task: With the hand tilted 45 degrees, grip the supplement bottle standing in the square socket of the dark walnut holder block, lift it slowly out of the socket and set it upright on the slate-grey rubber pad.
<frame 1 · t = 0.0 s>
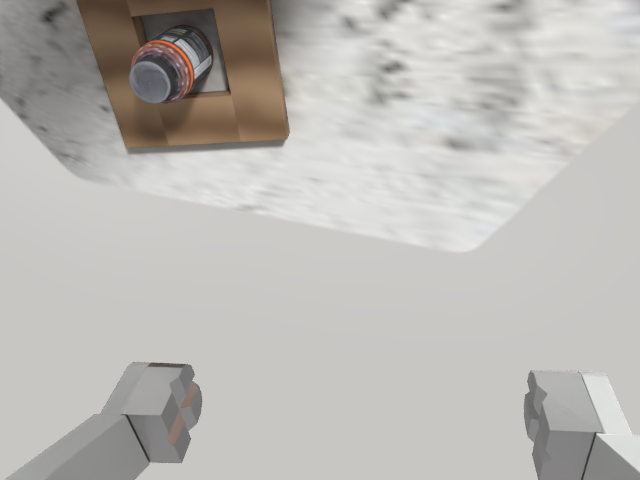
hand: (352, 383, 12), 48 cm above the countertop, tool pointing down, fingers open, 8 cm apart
supplement bottle: (189, 52, 57), resting in holder block
holder block: (189, 52, 57), on the countertop
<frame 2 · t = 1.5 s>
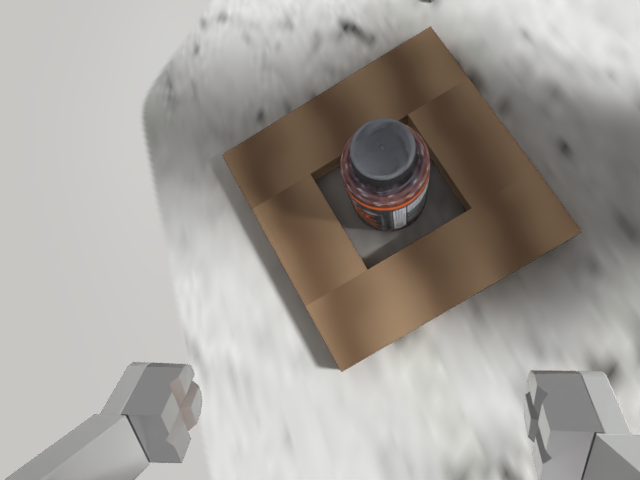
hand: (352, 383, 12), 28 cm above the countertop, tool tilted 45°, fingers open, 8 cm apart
supplement bottle: (389, 198, 42), resting in holder block
holder block: (389, 197, 41), on the countertop
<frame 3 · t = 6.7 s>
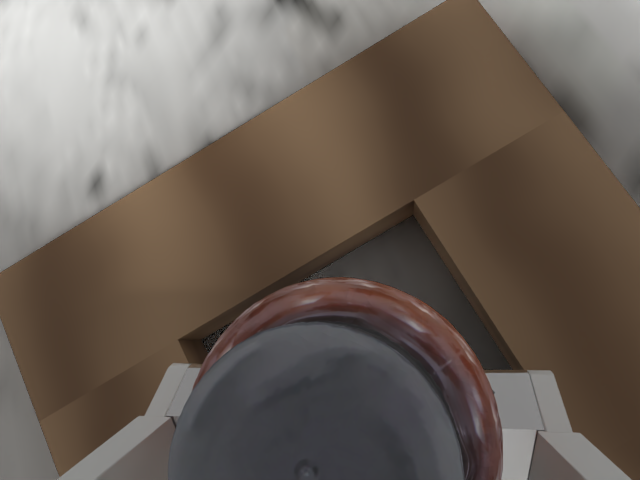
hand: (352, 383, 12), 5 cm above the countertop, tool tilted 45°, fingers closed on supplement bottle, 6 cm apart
supplement bottle: (369, 390, 18), resting in holder block, touching gripper
holder block: (368, 390, 17), on the countertop
when the fingers open (7 cm above the countertop, at t = 17.0 s): supplement bottle stays where it is, resting on rubber pad.
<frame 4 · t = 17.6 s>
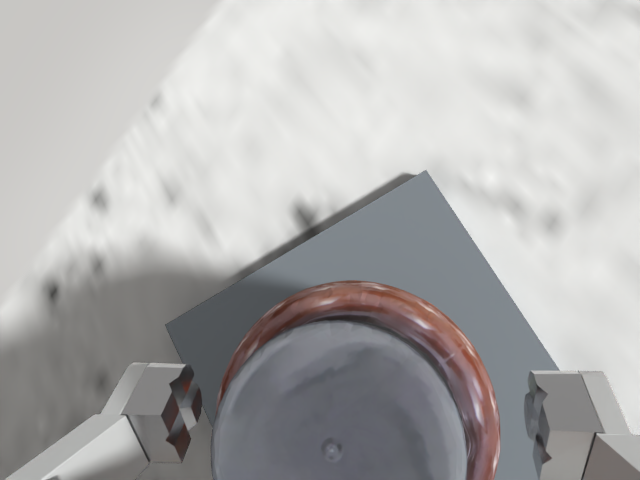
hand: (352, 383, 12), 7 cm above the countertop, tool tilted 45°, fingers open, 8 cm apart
supplement bottle: (375, 385, 19), point 1 cm above the countertop, touching rubber pad
rubber pad: (372, 385, 19), on the countertop
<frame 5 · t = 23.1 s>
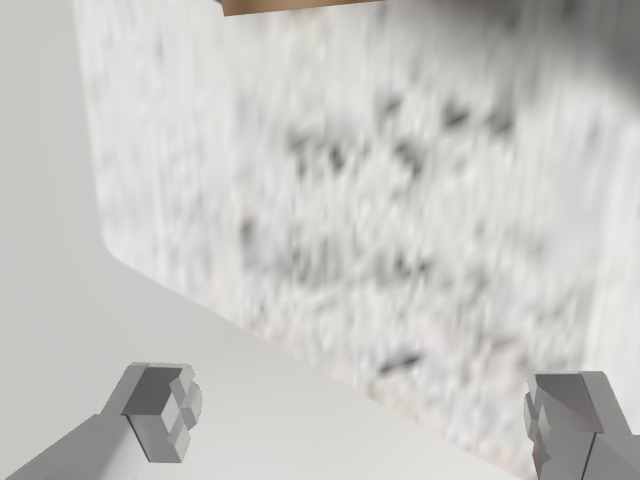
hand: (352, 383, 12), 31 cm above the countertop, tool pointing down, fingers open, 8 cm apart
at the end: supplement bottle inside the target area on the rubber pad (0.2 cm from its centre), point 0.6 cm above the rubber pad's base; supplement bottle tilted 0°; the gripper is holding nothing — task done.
